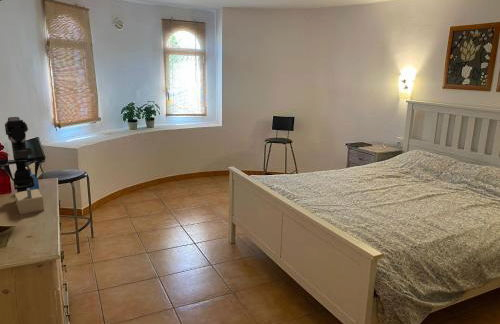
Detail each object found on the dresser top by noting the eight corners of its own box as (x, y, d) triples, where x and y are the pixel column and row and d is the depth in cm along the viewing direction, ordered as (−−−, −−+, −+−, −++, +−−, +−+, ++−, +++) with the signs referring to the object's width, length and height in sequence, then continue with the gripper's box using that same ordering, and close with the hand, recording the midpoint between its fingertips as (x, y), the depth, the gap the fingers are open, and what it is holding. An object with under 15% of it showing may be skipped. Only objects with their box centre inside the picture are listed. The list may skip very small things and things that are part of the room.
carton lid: (14, 193, 184) (13, 184, 183) (37, 190, 190) (36, 181, 189) (18, 201, 174) (16, 192, 173) (42, 197, 180) (41, 188, 178)
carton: (16, 206, 186) (14, 193, 184) (39, 202, 192) (37, 190, 190) (20, 214, 175) (18, 202, 174) (44, 210, 181) (42, 197, 180)
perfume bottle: (30, 191, 208) (28, 170, 205) (21, 190, 209) (18, 170, 206) (39, 188, 214) (36, 168, 211) (29, 187, 215) (26, 167, 212)
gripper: (-6, 144, 161) (-1, 179, 160) (42, 140, 171) (48, 173, 170) (-5, 150, 171) (0, 183, 169) (41, 145, 181) (47, 177, 179)
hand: (24, 179), depth 172 cm, fingers open, 9 cm apart
